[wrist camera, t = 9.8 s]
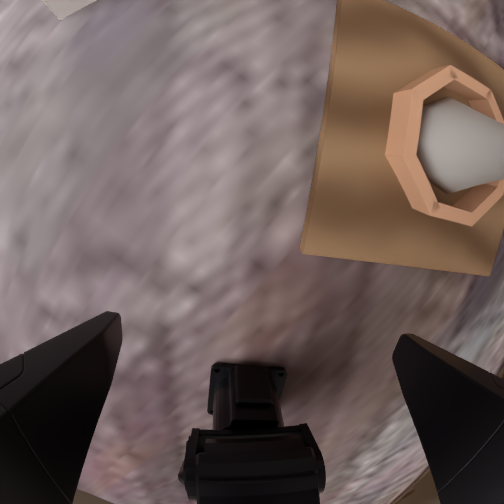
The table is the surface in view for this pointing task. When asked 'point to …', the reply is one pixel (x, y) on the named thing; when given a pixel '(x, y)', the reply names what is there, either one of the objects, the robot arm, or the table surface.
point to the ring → (407, 136)
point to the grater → (66, 6)
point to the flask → (459, 146)
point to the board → (375, 140)
